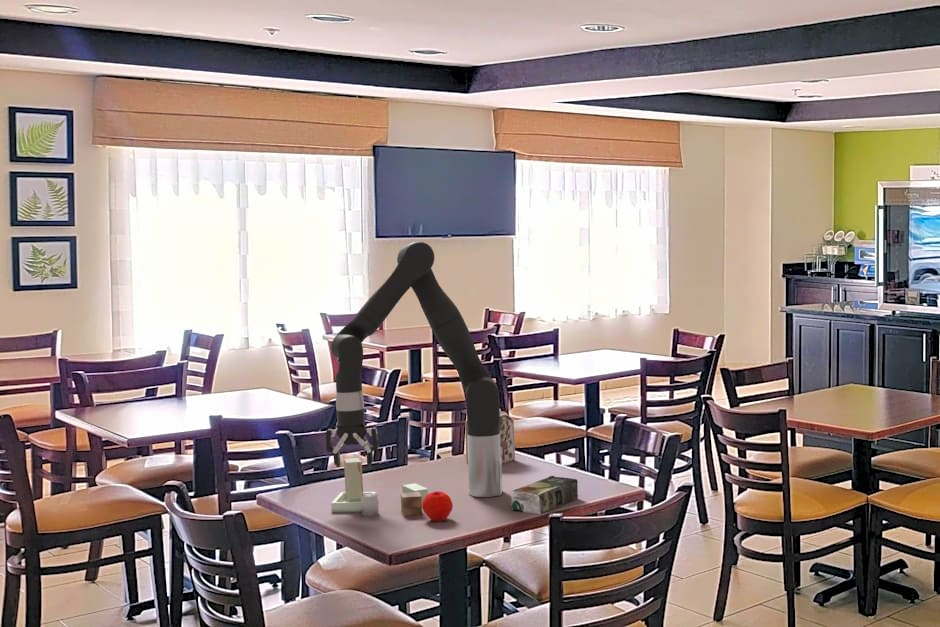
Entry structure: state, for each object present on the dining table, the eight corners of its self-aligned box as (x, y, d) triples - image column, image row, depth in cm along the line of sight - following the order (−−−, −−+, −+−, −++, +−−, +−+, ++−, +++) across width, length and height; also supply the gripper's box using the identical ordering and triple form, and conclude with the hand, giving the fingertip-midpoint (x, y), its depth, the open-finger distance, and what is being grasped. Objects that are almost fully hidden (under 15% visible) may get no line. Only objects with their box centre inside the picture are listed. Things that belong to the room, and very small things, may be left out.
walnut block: (419, 510, 284) (419, 491, 284) (422, 514, 279) (421, 496, 279) (401, 511, 284) (400, 493, 283) (403, 516, 279) (402, 497, 278)
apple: (424, 515, 278) (423, 488, 277) (454, 515, 277) (453, 487, 277) (420, 524, 270) (419, 495, 270) (451, 523, 269) (450, 495, 269)
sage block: (428, 503, 292) (427, 488, 292) (415, 505, 290) (414, 490, 290) (415, 497, 299) (415, 483, 299) (402, 499, 297) (402, 485, 297)
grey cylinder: (379, 511, 284) (379, 493, 283) (376, 516, 279) (376, 497, 279) (363, 511, 284) (363, 493, 284) (360, 516, 280) (359, 497, 279)
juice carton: (538, 516, 274) (538, 493, 274) (508, 511, 281) (507, 489, 280) (579, 500, 290) (579, 478, 290) (549, 496, 296) (549, 474, 296)
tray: (376, 500, 296) (376, 491, 295) (368, 511, 284) (367, 502, 284) (341, 500, 297) (341, 492, 296) (331, 512, 285) (331, 502, 285)
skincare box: (364, 506, 288) (362, 461, 287) (348, 507, 287) (346, 463, 286) (361, 500, 294) (359, 457, 293) (345, 501, 293) (343, 458, 292)
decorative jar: (465, 463, 341) (463, 407, 339) (487, 456, 350) (486, 402, 348) (494, 467, 333) (492, 410, 332) (516, 460, 342) (514, 405, 340)
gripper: (378, 404, 291) (381, 462, 292) (327, 406, 292) (331, 463, 293) (373, 408, 283) (376, 468, 285) (321, 410, 285) (325, 469, 286)
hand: (353, 466), depth 289 cm, fingers open, 8 cm apart
